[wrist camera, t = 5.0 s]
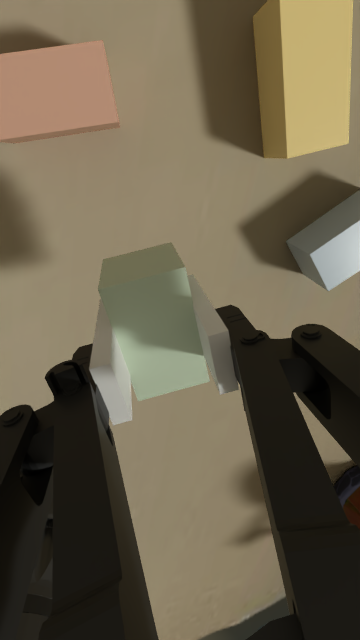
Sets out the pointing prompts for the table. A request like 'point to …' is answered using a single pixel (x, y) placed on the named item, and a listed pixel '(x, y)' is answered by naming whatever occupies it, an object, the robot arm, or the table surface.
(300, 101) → the ochre brick
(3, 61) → the terracotta brick
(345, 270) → the slate brick
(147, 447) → the table surface
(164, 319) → the sage brick
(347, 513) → the mug
